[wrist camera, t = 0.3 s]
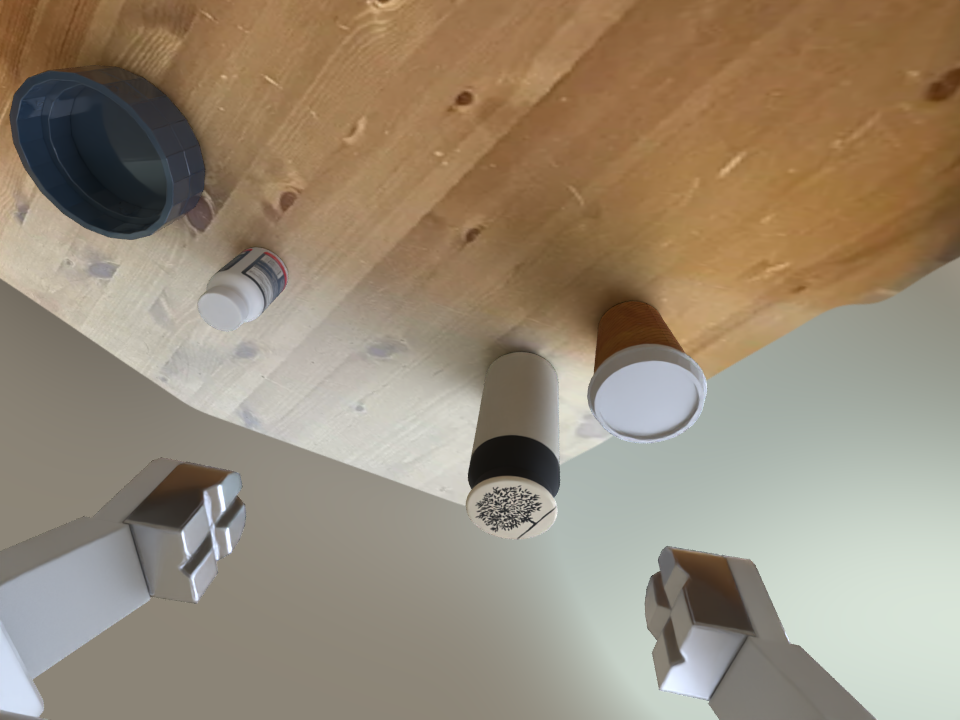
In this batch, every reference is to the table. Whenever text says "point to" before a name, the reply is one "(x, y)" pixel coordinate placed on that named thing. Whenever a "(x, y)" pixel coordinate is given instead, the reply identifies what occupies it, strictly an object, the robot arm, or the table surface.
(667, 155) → the table surface
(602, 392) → the disposable coffee cup
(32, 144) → the bowl
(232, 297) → the pill bottle
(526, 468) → the travel mug
